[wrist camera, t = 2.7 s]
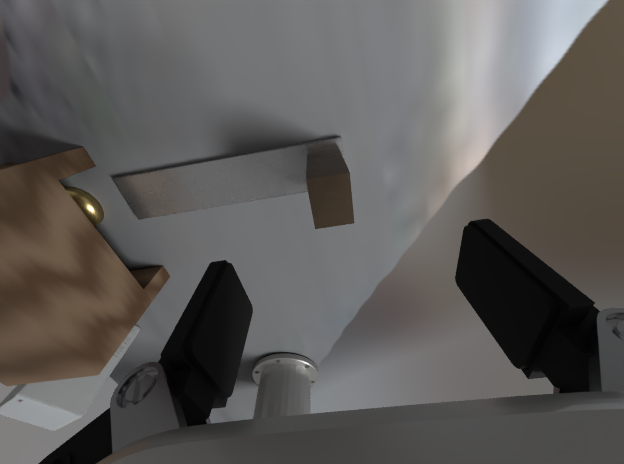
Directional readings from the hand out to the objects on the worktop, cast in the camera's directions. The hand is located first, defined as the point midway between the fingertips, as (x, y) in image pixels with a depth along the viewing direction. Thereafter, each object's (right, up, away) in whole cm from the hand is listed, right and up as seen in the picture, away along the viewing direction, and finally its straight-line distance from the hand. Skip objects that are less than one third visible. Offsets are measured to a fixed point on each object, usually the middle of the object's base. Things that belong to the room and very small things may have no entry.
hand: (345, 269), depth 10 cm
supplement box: (-35, -14, +30) cm, 48 cm away
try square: (-10, +7, +17) cm, 21 cm away
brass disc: (-29, +5, +19) cm, 34 cm away
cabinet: (-28, +2, +20) cm, 34 cm away
